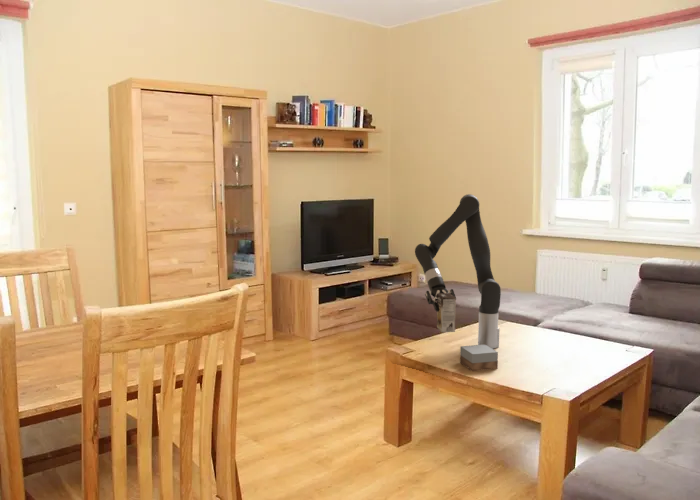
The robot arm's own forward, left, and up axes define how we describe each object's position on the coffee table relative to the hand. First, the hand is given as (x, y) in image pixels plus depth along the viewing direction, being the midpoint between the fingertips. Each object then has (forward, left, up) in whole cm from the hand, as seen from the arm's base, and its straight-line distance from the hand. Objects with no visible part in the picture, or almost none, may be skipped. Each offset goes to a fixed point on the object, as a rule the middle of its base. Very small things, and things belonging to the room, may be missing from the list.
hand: (445, 310), depth 282 cm
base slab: (-10, +15, -23) cm, 29 cm away
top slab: (-9, +15, -19) cm, 26 cm away
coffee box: (0, +1, -9) cm, 9 cm away
